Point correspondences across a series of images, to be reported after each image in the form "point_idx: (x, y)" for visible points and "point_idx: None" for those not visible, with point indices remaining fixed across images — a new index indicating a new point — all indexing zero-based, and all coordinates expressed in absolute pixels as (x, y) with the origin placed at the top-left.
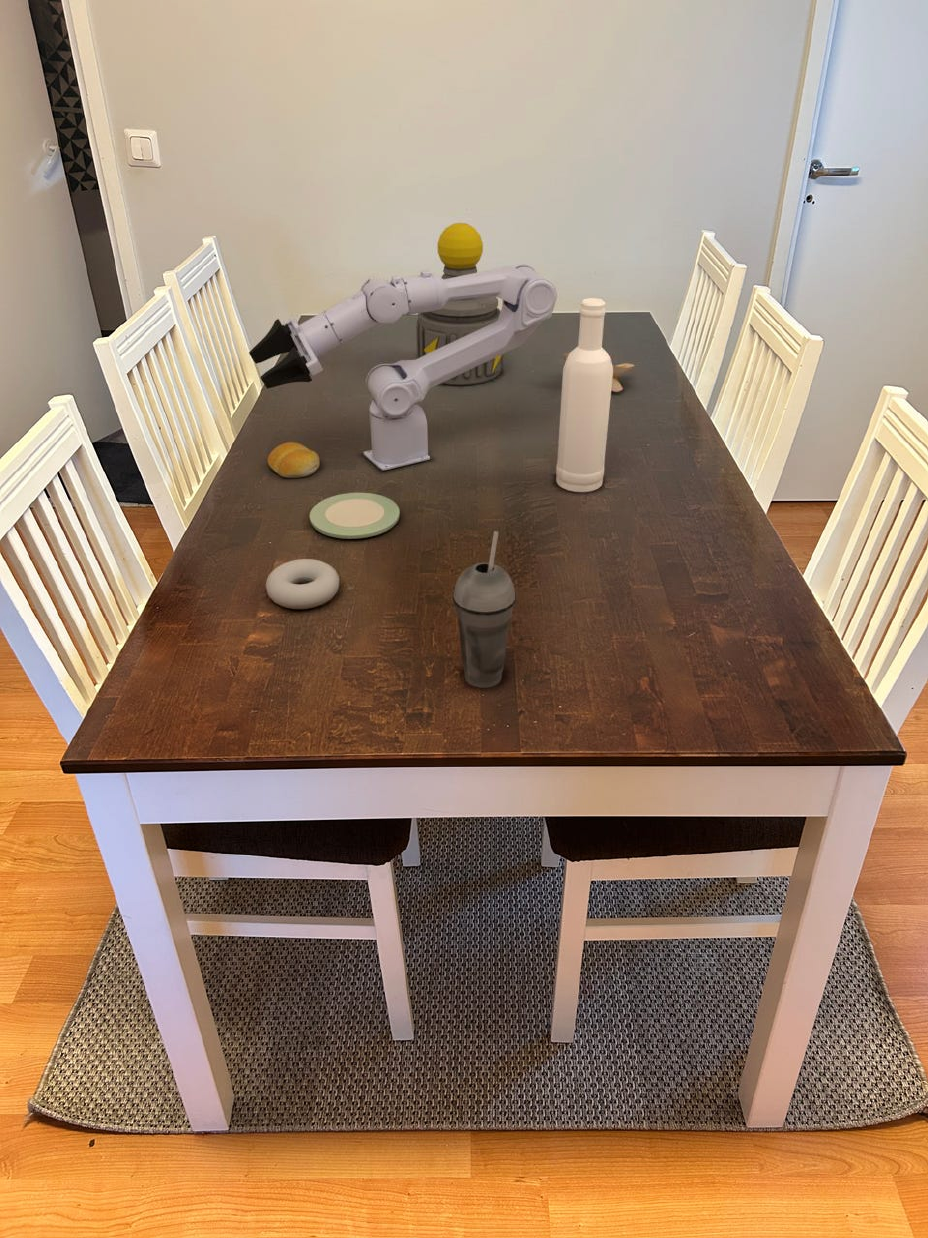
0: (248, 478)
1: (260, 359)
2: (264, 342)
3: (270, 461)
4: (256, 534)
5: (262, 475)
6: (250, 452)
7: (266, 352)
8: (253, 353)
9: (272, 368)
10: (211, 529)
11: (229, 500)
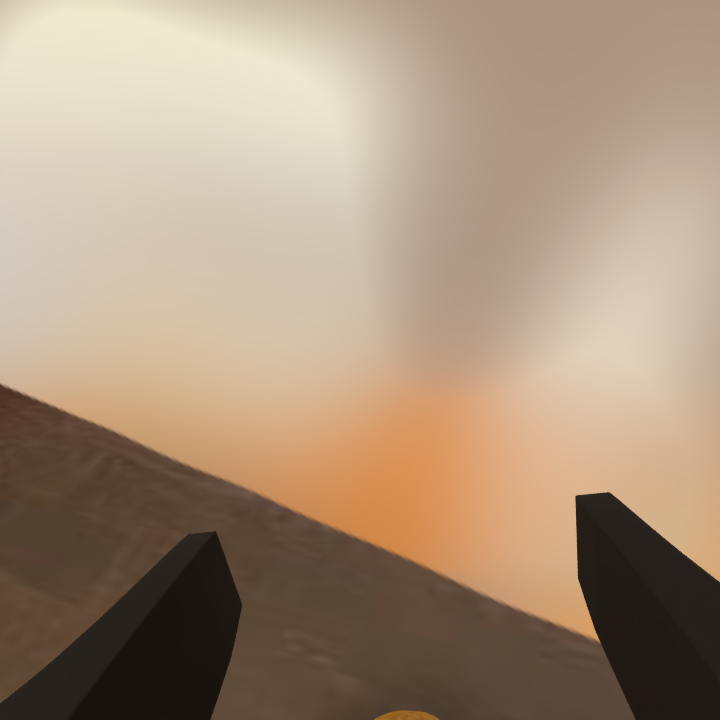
0: (365, 624)
1: (595, 612)
2: (666, 617)
3: (388, 715)
4: (2, 568)
5: (371, 679)
6: (579, 679)
7: (639, 667)
8: (587, 526)
9: (139, 615)
10: (116, 470)
11: (244, 538)
